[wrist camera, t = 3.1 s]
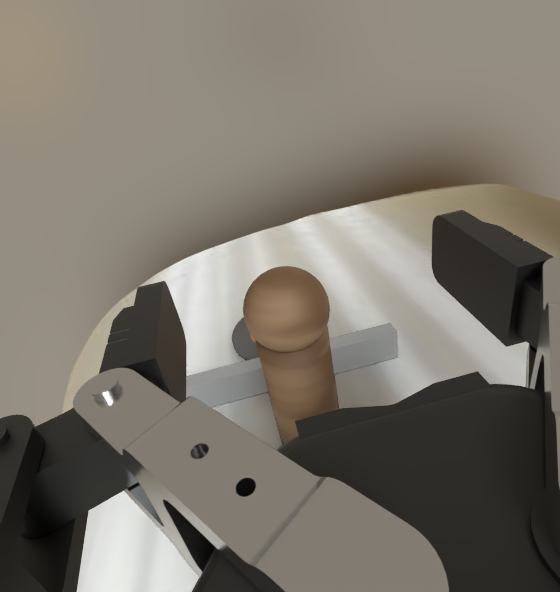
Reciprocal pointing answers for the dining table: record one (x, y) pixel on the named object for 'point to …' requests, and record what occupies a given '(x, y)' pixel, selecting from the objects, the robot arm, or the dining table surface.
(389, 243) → the dining table surface
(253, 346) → the pad
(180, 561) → the dining table surface
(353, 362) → the low wall
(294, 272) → the skittle
